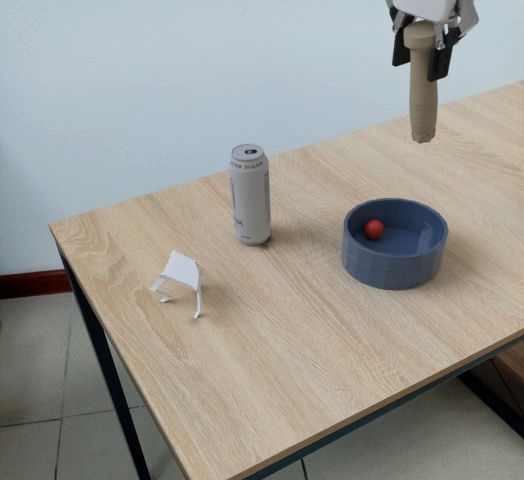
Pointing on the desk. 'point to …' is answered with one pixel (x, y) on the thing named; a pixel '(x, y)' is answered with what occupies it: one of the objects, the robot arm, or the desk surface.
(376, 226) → the bead
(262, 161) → the energy drink can
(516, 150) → the desk surface
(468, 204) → the desk surface
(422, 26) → the handle
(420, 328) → the desk surface
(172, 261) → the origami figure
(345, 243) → the bowl
